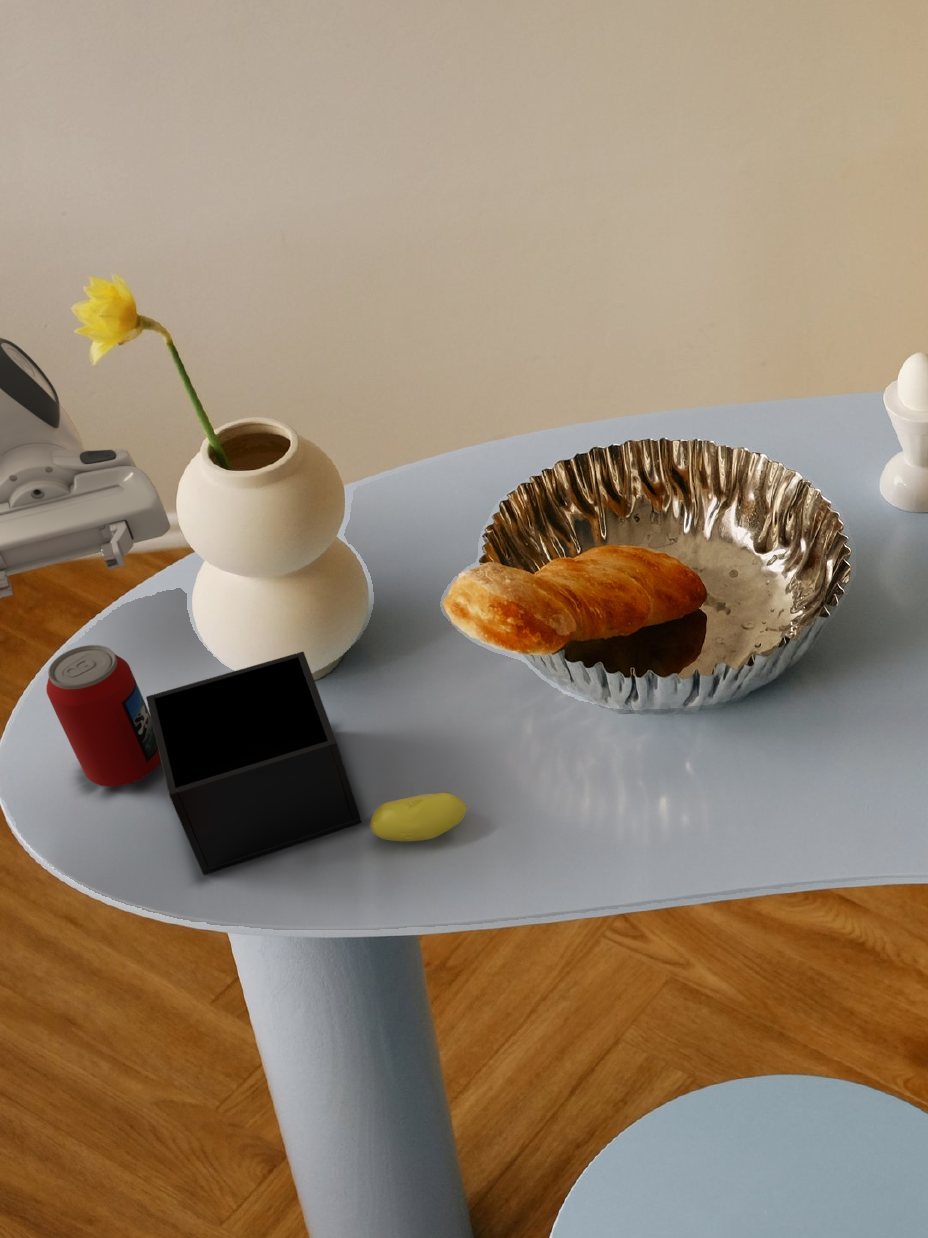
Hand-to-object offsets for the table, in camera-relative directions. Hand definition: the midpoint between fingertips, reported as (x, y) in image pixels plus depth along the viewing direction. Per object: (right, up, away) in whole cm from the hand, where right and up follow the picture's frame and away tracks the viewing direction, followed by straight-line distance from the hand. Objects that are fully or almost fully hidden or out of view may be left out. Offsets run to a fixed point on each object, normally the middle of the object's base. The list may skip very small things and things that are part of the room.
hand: (58, 576), depth 135 cm
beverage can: (+6, -17, 0) cm, 18 cm away
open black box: (+20, -20, -3) cm, 28 cm away
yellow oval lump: (+34, -23, -6) cm, 42 cm away
